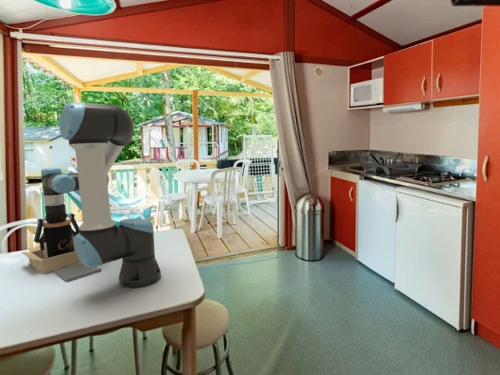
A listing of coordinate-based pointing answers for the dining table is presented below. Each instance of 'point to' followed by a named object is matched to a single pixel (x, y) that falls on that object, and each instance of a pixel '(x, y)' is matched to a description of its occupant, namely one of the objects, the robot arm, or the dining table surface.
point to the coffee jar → (58, 238)
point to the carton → (50, 260)
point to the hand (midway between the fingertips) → (60, 253)
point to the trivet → (76, 272)
